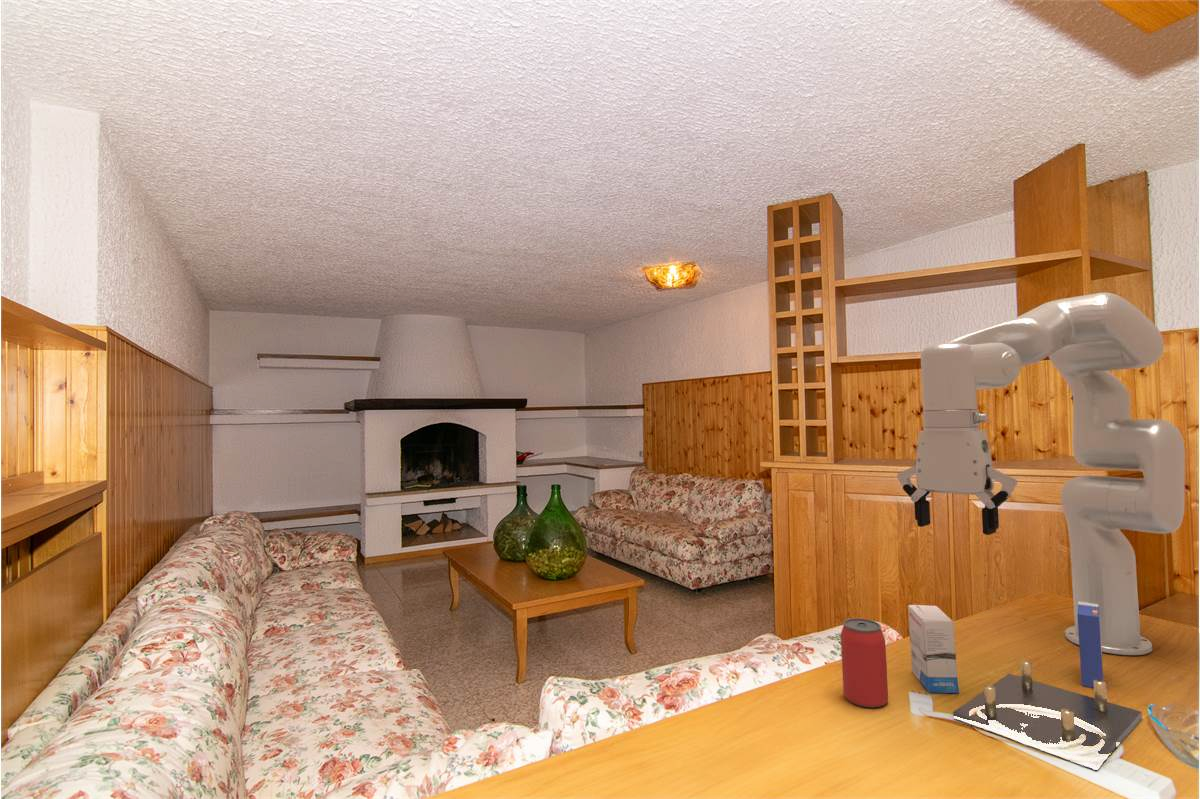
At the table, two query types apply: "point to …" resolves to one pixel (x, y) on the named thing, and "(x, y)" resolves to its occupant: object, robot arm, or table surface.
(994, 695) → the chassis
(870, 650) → the beer can
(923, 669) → the ink box
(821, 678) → the table surface
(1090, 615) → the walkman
